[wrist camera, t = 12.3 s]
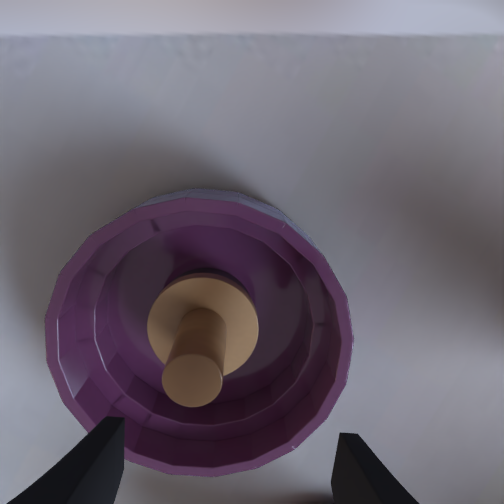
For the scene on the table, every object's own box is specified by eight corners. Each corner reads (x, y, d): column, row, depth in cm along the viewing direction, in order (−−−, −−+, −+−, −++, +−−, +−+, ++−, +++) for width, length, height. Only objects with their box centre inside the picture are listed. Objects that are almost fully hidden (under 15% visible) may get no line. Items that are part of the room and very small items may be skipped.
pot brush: (263, 269, 22) (272, 323, 15) (250, 361, 23) (254, 447, 16) (159, 258, 21) (122, 308, 15) (153, 351, 23) (117, 435, 16)
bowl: (349, 201, 21) (377, 215, 17) (313, 425, 25) (328, 484, 21) (81, 175, 21) (39, 183, 16) (84, 410, 24) (49, 467, 20)
